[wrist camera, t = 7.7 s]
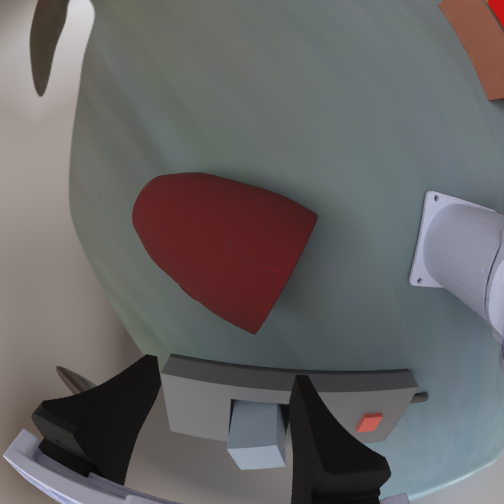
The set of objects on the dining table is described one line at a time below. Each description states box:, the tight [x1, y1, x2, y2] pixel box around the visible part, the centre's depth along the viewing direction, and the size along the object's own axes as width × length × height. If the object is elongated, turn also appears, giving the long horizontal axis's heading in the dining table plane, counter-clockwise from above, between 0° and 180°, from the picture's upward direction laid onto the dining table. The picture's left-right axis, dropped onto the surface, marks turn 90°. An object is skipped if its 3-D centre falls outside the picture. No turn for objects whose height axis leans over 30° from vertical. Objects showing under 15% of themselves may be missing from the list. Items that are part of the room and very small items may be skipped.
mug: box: [132, 172, 318, 334], centre depth 18 cm, size 10×8×10 cm
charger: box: [227, 399, 285, 470], centre depth 21 cm, size 4×4×7 cm
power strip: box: [161, 354, 428, 446], centre depth 23 cm, size 29×9×4 cm, turn 85°
